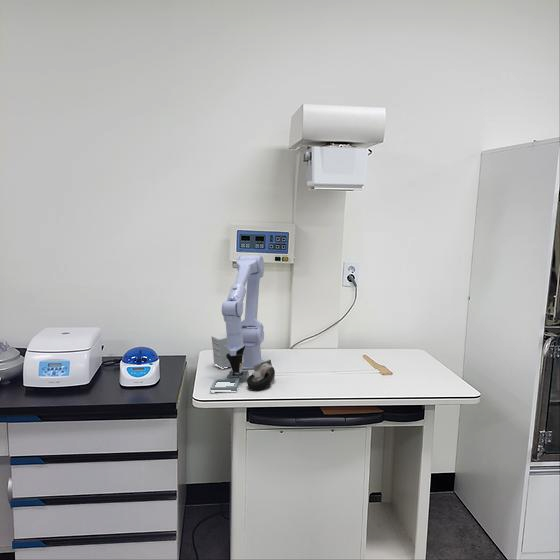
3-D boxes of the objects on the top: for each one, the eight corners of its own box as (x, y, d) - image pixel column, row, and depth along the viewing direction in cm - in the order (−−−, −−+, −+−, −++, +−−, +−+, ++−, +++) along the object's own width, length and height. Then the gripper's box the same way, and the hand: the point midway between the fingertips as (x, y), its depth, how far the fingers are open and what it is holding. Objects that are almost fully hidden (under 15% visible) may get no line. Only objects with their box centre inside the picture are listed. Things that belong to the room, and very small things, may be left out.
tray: (215, 384, 181) (214, 379, 181) (239, 382, 181) (239, 378, 180) (210, 393, 172) (210, 388, 172) (236, 392, 172) (236, 386, 171)
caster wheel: (253, 399, 171) (245, 385, 180) (283, 386, 174) (274, 374, 183) (249, 382, 169) (240, 370, 178) (279, 370, 172) (269, 358, 181)
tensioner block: (230, 376, 188) (229, 371, 188) (248, 375, 188) (248, 370, 188) (227, 382, 181) (227, 377, 181) (246, 381, 181) (246, 376, 181)
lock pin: (234, 377, 186) (233, 362, 185) (243, 377, 186) (241, 361, 185) (233, 380, 183) (232, 365, 182) (242, 380, 183) (240, 364, 182)
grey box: (230, 361, 206) (227, 332, 204) (238, 366, 200) (235, 335, 198) (213, 366, 202) (210, 335, 201) (221, 370, 196) (218, 339, 194)
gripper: (226, 329, 189) (229, 363, 191) (220, 338, 175) (223, 376, 177) (244, 327, 189) (247, 362, 191) (240, 337, 175) (243, 375, 177)
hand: (237, 369), depth 184 cm, fingers open, 7 cm apart
